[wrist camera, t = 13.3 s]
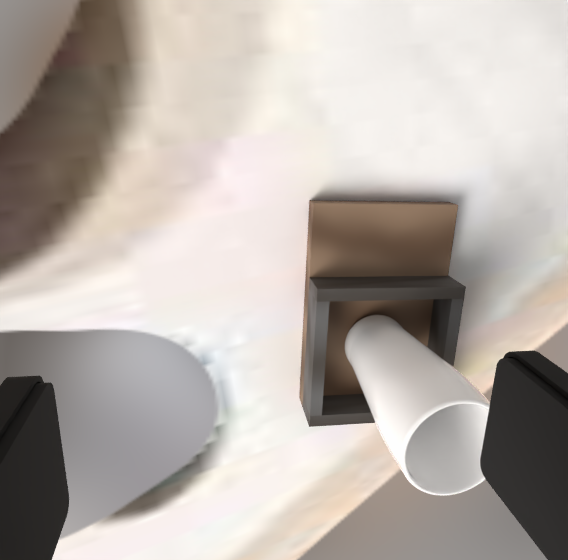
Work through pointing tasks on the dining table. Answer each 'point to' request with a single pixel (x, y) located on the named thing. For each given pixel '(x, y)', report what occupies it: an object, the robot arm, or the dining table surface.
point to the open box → (372, 292)
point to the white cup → (419, 406)
